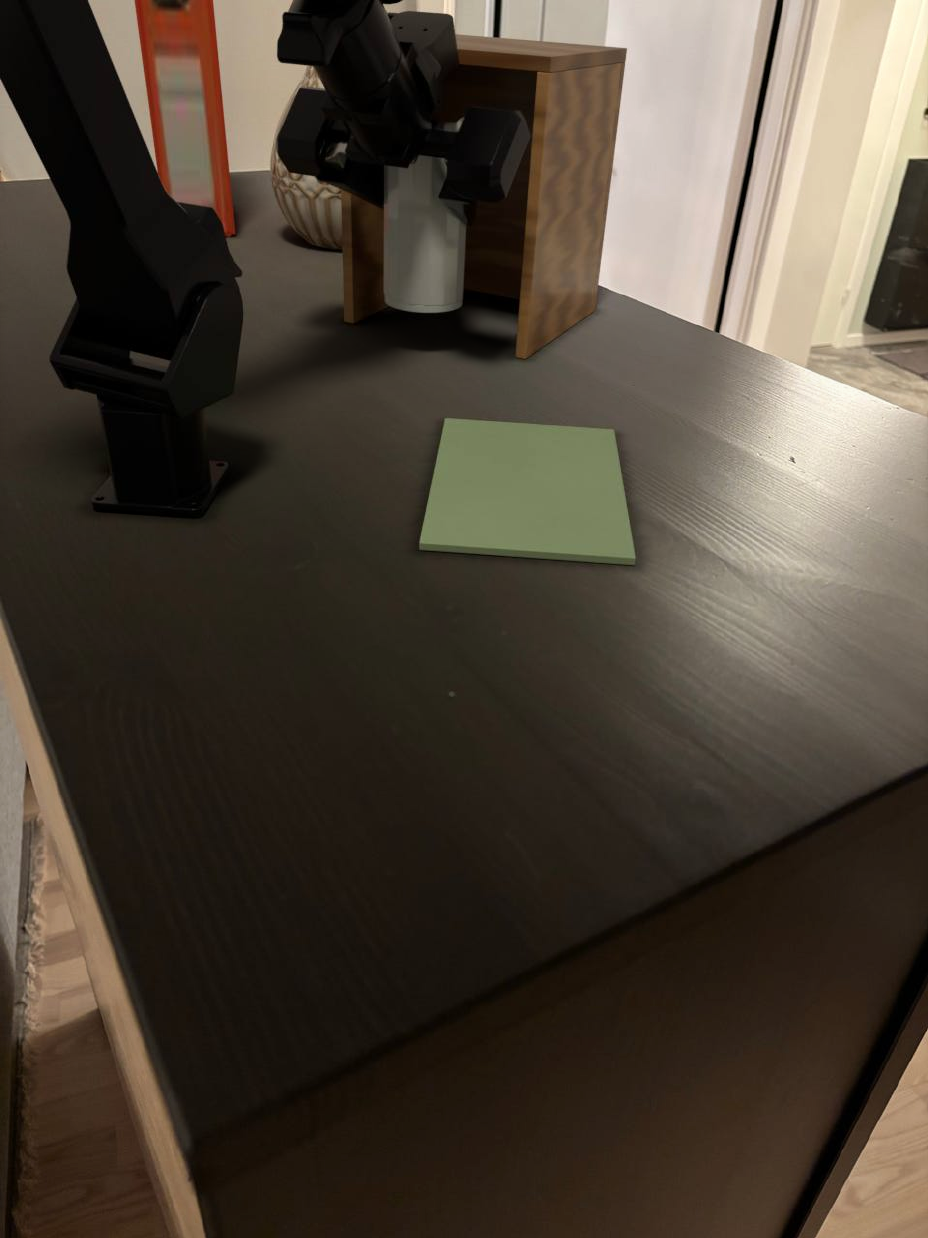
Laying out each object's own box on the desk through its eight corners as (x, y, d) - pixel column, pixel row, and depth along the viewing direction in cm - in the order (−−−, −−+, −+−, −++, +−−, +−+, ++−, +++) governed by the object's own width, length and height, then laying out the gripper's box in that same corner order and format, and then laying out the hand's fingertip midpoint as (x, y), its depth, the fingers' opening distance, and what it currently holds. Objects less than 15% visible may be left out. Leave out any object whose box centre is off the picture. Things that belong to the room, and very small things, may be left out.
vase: (249, 247, 107) (232, 39, 96) (312, 220, 119) (304, 34, 108) (380, 265, 103) (379, 50, 92) (431, 235, 116) (436, 43, 104)
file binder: (163, 237, 109) (119, -115, 91) (164, 205, 123) (126, -106, 105) (235, 236, 111) (206, -109, 93) (229, 205, 124) (202, -101, 106)
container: (460, 315, 77) (468, 137, 70) (379, 310, 77) (379, 131, 70) (465, 293, 83) (473, 126, 75) (389, 288, 83) (390, 121, 76)
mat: (634, 565, 53) (636, 558, 52) (418, 550, 53) (419, 542, 53) (613, 435, 68) (614, 428, 67) (444, 424, 68) (444, 417, 68)
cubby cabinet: (525, 359, 80) (551, 56, 68) (344, 321, 86) (336, 37, 74) (595, 310, 93) (627, 47, 80) (432, 280, 99) (439, 32, 87)
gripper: (532, -32, 61) (574, 143, 75) (289, -44, 67) (371, 119, 82) (470, 117, 59) (526, 266, 74) (228, 89, 66) (323, 231, 80)
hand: (434, 215), depth 77 cm, fingers closed on container, 6 cm apart
